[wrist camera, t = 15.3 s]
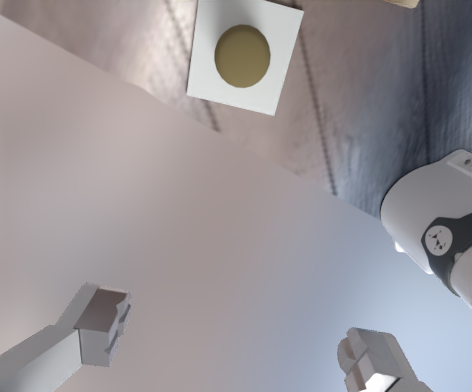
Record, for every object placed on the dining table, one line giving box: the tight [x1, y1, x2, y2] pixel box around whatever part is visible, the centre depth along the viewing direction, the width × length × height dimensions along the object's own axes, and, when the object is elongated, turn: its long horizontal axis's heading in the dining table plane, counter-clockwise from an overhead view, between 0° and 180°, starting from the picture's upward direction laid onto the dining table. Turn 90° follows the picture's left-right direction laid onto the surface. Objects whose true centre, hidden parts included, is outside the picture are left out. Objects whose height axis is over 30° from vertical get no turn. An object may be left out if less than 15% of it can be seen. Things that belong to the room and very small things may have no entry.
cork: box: [214, 24, 271, 88], centre depth 28 cm, size 6×6×11 cm
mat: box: [187, 0, 304, 116], centre depth 33 cm, size 12×12×1 cm
